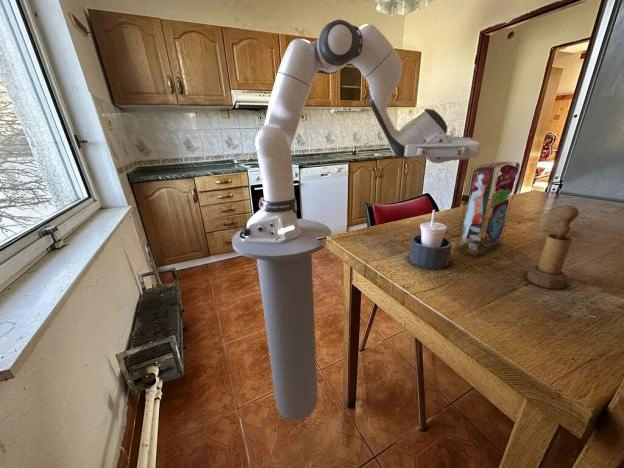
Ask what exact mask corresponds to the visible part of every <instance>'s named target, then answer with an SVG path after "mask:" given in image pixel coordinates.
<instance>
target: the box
mask: <svg viewBox="0 0 624 468" xmlns="http://www.w3.org/2000/svg"><path fill="white" fill-rule="evenodd" d="M496 168H497V169H498V171H496V170H497V169H496ZM520 168H521V164H520V162H518V161H514V164H513V162H511V161H497V162H494V163H493V162H491V163H489V164H487V163H485V164H483V165H482V164H481V165H478V166H475V167H473V168H472V167H471V170H473V171H472V173H470V175H469V178H471V180H469V182H468V185H467V189H466V194H465V200H464V203H466V202H467V206H466V204H464V205H463V210H462V211H463V212H462V213H465V214H462V216H461V218H463V219H461V220H460V227H459V229H458V233H461V234H458V235H457V238H458V240H457V241H456V244H457V246H456V247H457V249H458V250H461V253H462V254H465V255H468V256H472V257H476V258H478V257H480V256H481V254H482V255H484V254H485V253H488V252H490V251H491V250H493V249H494V248H497V244H498V245H500V242H497V241H499V240H502V239H503V237H504V234H505V232H506V231H505V230H506V228H507V227H506V226H507V222H508V220H506V219H508V218H509V216H507V215H509V213H510V212H509V211H510V208H511V205H512V202H513V199H514V195H515V191H516V187H517V181H518V179H517V178H518V176H519V171H520ZM495 172H496V173H495ZM499 172H500V173H501V174H499ZM495 176H496V177H495ZM494 177H495V179H494ZM493 181H494V183H493ZM515 181H516V182H515ZM492 186H494V187H493V188H492ZM491 191H492V192H491ZM491 193H492V194H491ZM511 194H512V197H511V201H510V200H509V199H508V197H509V196H510V195H511ZM490 196H491V197H490ZM467 199H468V201H467ZM509 202H510V203H509ZM465 207H466V208H465ZM488 207H489V208H488ZM465 209H466V212H465ZM490 210H491V214H489V213H487V212H489V211H490ZM507 212H508V213H507ZM488 215H489V217H488ZM487 217H488V218H487ZM487 220H488V221H487ZM485 221H487V222H485ZM462 224H463V225H462ZM461 228H462V229H461ZM485 228H486V229H485ZM461 230H462V231H461ZM484 232H485V234H484ZM479 234H480V235H479ZM478 235H479V236H478ZM501 235H502V236H501ZM500 237H501V238H500ZM460 238H461V239H460ZM460 240H461V241H462V243H464V244H463V245H462V246H460V243H459V241H460ZM467 240H470V241H472V240H474V241H475V242H468V244H467ZM483 241H484V242H483ZM476 242H480V243H479V245H477V244H476ZM482 242H483V247H488V248H487V249H485V250H484V252H483V251H481V246H482ZM465 244H467V245H465ZM467 246H468V248H469V249H470V250H472V251H478V252H477V255H476V256H475V255H474V254H472V253H470V252H469V251H467V252H465V250H464V249H463V248H466V247H467ZM478 246H479V247H478ZM489 246H490V247H489ZM462 247H463V248H462ZM479 253H480V255H479Z"/></svg>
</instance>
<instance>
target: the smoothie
mask: <svg viewBox="0 0 624 468" xmlns="http://www.w3.org/2000/svg"><path fill="white" fill-rule="evenodd" d="M435 216H436V209H432V214H431V221H425V222H422V223H420V227H419V228H420V230H421V233H420V234H421V243H422V245H423V246H427V247H435V248H437V247H440V246H441V243H442V239H443V237H445V233H447V229H448V226H446V225H445V224H443V223H441V222H436V221H435Z"/></svg>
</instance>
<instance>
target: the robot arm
mask: <svg viewBox="0 0 624 468" xmlns="http://www.w3.org/2000/svg"><path fill="white" fill-rule="evenodd" d="M279 64H280V65H279V67H278V70H277V74H276V77H275V80H274V82H273V86H272V90H271V93H270V97H269V101H268V105H267V111H266V115H265V119H264V122H263V123H264V124H263V126H262V127H261V128H259V130H258V131H257V132H256V135H255V141H254V143H255V149H256V155H257V161H258V166H259V170H260V176H261V182H262V192H263V197H260V199H259V201H258V207H259V210H258V211H256V212H255V213H254V214H253V215H252V216H251V217H250V218H249V219H248V221H247V224H246V226H242V227H240V230H241V232H240V237H241V240H242V241H243V242H250V243H272V244H282V243H284V242H286V241H288V240H291V239H294V238H297V237H298V236H300V234H301V231H300V228H299V225H298V221H297V219H298V216H297V210H298V207H297V206H298V205H297V197H296V196H295V183H294V169H293V159H292V145H293V141H294V139H295V136H296V132H297V129H298V127H299V124H300V120H301V117H302V114H303V111H304V110H305V106H306V103H307V100H308V97H309V94H310V91H311V89H312V85H313V82H314V79H315V77H316V75H317V74H325V75H333V74H336V73H337V72H339V71H340V70H342V69H343V68H344V67H346V65H352V66H354V67H356V69H357V70H359V72H360V74H362V76H363V78H364V79H365V80H366V82H367V84H368V88H369V94H368V97H367V99H368V103H369V105H370V108H371V110H372V112H373V114H374V117H375V118H376V120H377V123H378V124H379V126H380V128H381V130H382V132H383V134H384V136H385V138H386V141H387V142H388V146H389V149H390V151H391V153H392V154H393V155H394V156H396V157H397V158H402V159H404V158H405V159H406V158H426V159H427V160H428V161H429V162H430V163H433V164H442V163H446V162H447V163H448V162H452V161H463V160H468V159H471V158H473V159H474V158H478V157H479V155H480V152H481V147H482V146H481V145H482V144H481V142H479V141H477V140H473V138H472V137H467V136H453V135H450V134H447V133H448V125H447V122H445V120H444V118H443V117H442V116H441V115H440V113H439V112H438V111H436V110H435V109H431V108H423V109H422V110H421V111H419V112H418V113H417V114H415V116H414V117H412V118H411V119H410V120H409V121H408V122H406V123H405V124H404V125H403V126H401V127H400V128H399V129H396V127H395V126H394V123H393V121H392V120H391V117H390V114H389V113H388V110H387V109H388V103H389V101H390V99H391V97H392V95H393V93H394V92H395V90H396V88H397V86H398V85H399V83H400V81H401V78H402V74H403V62H402V60H401V58H400V56H399V54H398V52H397V51H396V49H395V48H394V46H393V45H392V43H391V42H390V41H389V40H388V38H387V37H386V36H385V35H384V34H383V33H382V32H381V31H380V30H379V29H378V28H377V27H376V26H375V25H374V24H372V23H367V24H366V23H365V24H364V25H361V26H360V27H358V26H357V25H353V24H351V23H350V22H349V21H346V20H344V19H334V20H332V21H329V22H328V23H327V24H325V26H323V28H322V30H321V32H320V34H319V35H318V37H317V39H316V40H314V41H309V40H306V39H304V38H295V39H293V40H291V41H290V43H289V44H288V46H287V48H286V49H285V51H284V54H283V57H282V58H281V61H280V63H279Z"/></svg>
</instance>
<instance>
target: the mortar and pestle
mask: <svg viewBox="0 0 624 468" xmlns="http://www.w3.org/2000/svg"><path fill="white" fill-rule="evenodd" d="M579 213H580V211H579V209H578V208H577V207H576V206H571V205H565V206H563V207H561V208H560V209H559V210H558V212H557V216H558V219H559V220H560V222H559V224H557V225H556V226H555V233H550V234H547V236H546V240H545V244H544V246H543V250H542V253H541V256H540V258H539V263H538V265H537V264H536V265H534V266H532V267H530V268H529V269H528V272H527V276H526V278H527V280H528V281H529V282H531V283H533V284H534V285H536V286H540V287H543V288H546V289H547V288H548V289H554V290H556V289H557V290H558V289H562V288H564V287H565V285H566V281H567V279H568V276H567V275H566V274H565V273H564V272H563V271H562V269H563V266H564V264H565V260H566V257H567V255H568V252H569V250H570V247H571V244H572V241H573V238H571V237H570V236H567V235H568V234H569V232H570V231H571V226H570V224H571V223H572V221H574V220H575V219H577V218H578V216H579Z"/></svg>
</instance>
